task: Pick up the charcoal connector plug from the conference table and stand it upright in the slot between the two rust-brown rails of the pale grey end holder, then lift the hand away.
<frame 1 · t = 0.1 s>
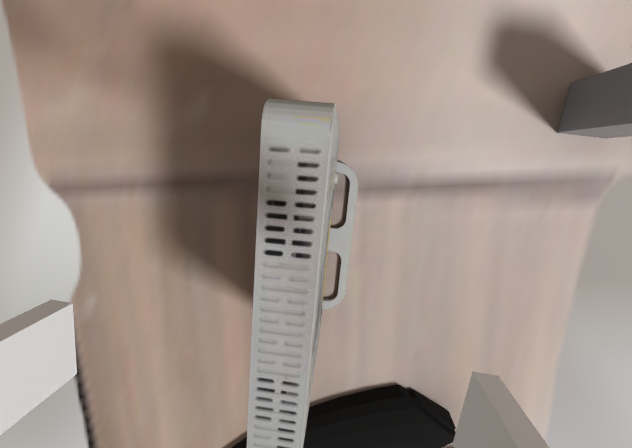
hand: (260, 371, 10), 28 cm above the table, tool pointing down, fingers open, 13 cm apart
network device: (316, 236, 38), on the table
connector plug: (588, 111, 32), on the table
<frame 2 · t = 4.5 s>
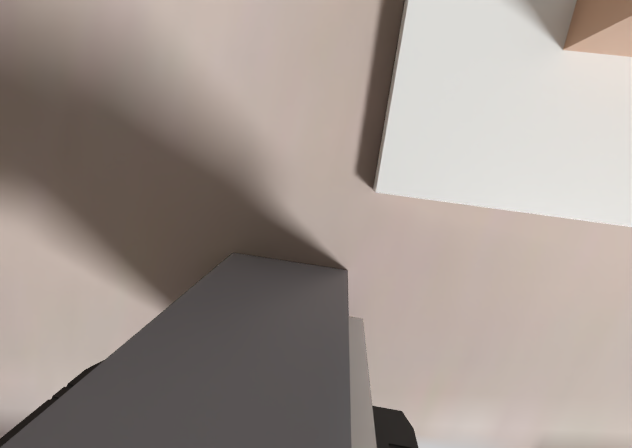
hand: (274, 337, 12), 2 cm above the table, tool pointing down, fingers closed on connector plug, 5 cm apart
connector plug: (283, 313, 13), on the table, touching gripper
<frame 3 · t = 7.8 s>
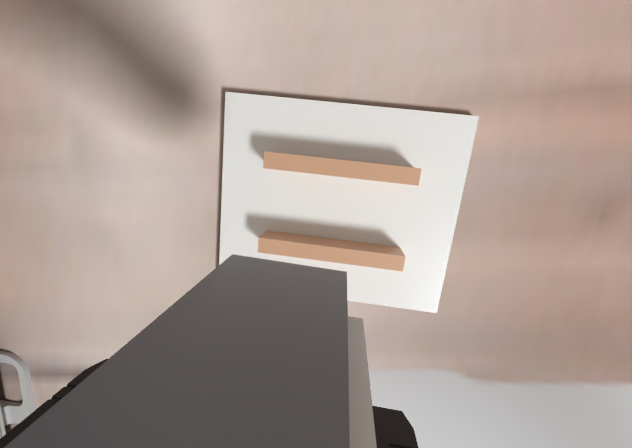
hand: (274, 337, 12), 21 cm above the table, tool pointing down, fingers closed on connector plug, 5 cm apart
end holder: (336, 206, 32), on the table
network device: (9, 408, 42), on the table
connector plug: (283, 315, 13), point 19 cm above the table, touching gripper
when the fingers open (4 cm above the table, at t = 11.5 s): connector plug drops 1 cm, resting on end holder.
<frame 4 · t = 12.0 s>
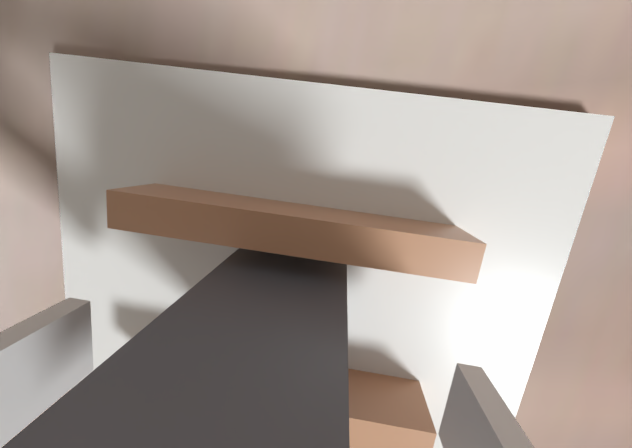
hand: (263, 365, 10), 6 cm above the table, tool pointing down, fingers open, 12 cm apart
end holder: (292, 290, 16), on the table
connector plug: (288, 299, 15), point 1 cm above the table, touching end holder
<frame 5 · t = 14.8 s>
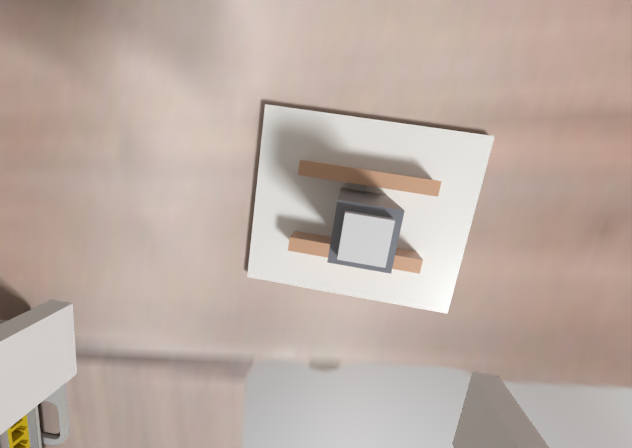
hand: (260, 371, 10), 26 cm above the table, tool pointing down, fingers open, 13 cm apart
end holder: (359, 211, 35), on the table
network device: (40, 387, 45), on the table
connector plug: (359, 213, 34), point 1 cm above the table, touching end holder
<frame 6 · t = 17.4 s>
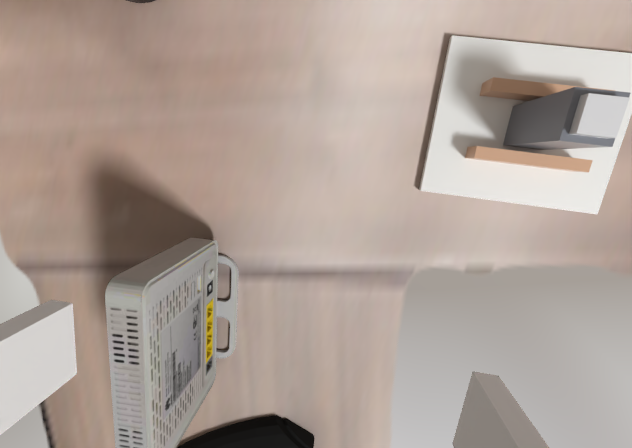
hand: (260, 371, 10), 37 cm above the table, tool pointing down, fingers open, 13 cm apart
end holder: (523, 128, 41), on the table
network device: (212, 305, 51), on the table
connector plug: (527, 128, 40), point 1 cm above the table, touching end holder
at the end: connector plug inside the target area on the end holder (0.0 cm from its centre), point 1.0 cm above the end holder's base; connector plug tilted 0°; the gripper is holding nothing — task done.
